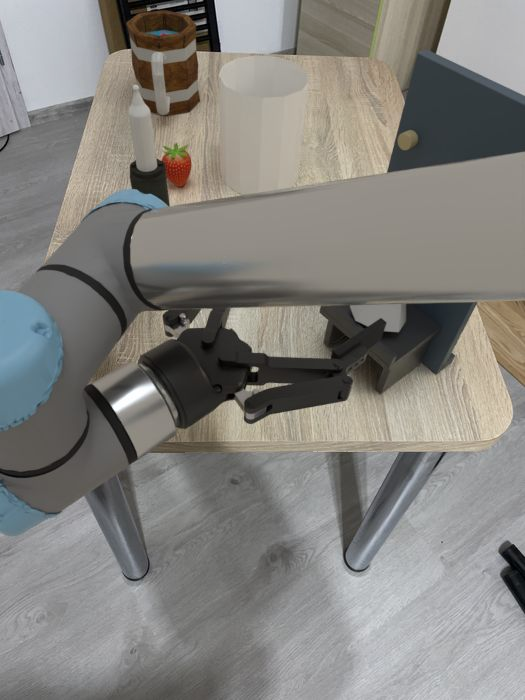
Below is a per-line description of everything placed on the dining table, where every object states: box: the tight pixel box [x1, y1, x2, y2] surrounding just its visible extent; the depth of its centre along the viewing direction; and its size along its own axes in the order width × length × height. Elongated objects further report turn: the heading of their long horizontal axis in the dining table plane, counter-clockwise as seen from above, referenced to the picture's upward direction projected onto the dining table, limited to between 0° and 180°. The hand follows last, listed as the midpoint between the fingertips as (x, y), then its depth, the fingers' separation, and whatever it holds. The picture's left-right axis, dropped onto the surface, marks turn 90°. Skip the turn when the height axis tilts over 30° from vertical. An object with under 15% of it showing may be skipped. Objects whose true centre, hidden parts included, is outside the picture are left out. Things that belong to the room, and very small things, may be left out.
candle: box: [127, 84, 171, 206], centre depth 78 cm, size 5×5×25 cm
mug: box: [125, 9, 201, 117], centre depth 108 cm, size 20×14×15 cm
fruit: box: [161, 141, 193, 187], centre depth 94 cm, size 5×5×8 cm
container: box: [218, 54, 310, 195], centre depth 93 cm, size 14×14×18 cm
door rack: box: [319, 49, 525, 395], centre depth 61 cm, size 14×16×36 cm
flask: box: [350, 304, 406, 332], centre depth 64 cm, size 7×7×10 cm
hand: (332, 289), depth 56 cm, fingers open, 13 cm apart
